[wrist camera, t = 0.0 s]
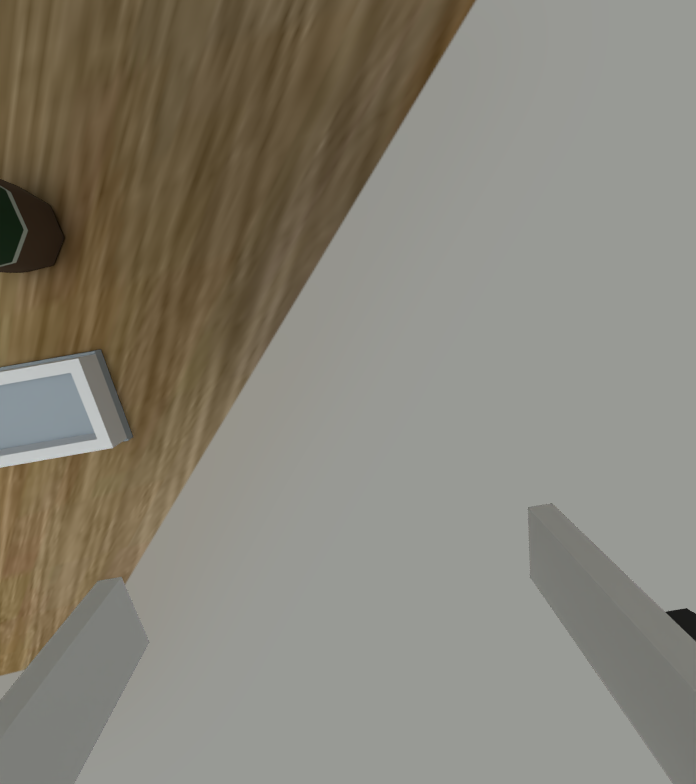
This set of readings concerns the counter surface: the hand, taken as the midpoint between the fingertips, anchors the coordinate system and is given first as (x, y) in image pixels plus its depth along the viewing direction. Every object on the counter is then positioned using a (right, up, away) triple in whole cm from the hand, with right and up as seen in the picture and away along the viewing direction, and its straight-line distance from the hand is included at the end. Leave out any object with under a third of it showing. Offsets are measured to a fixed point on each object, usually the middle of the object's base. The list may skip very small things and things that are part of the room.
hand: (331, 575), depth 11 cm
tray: (-36, +4, +27) cm, 45 cm away
